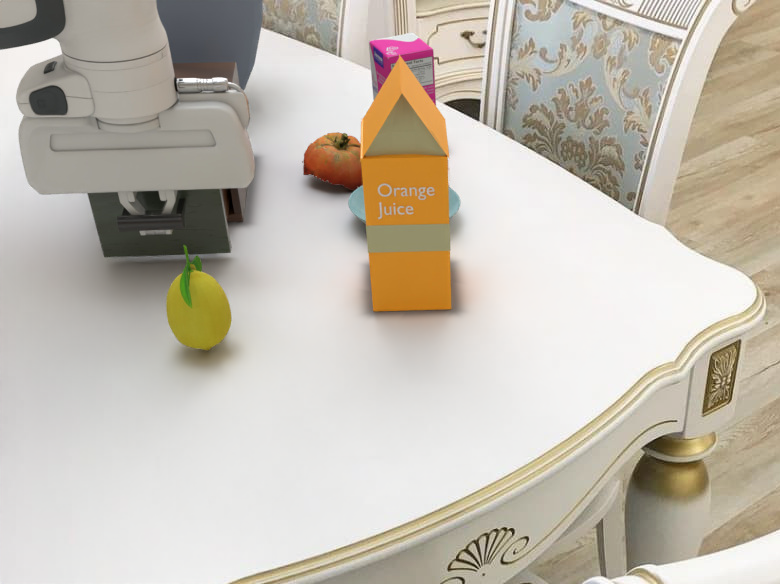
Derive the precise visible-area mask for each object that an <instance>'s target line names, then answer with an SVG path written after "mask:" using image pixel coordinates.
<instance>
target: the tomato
mask: <svg viewBox="0 0 780 584" xmlns="http://www.w3.org/2000/svg"><path fill="white" fill-rule="evenodd" d="M360 146H361V141H359V140H358V138H357V137H355V136H353V135H348V133H347V132H343V133H342V132H338V131H337V132H328V133H326V134H323V135H322V136H320V137H317V138H316V139H315V140H314V141H312V142H311V143H309V144H308V146H307V148H306V150H305V151H304V152H303V160H302V161H301V162H302V163H303V168H302V169H303V176H309V175H310V176H313V177H314V178H316V179H317V180H319V179H320V181H321V182H323V183H326V182H327V183H328V184H331V185H332V186H335V185H336V186H343V187H344V188H346V189H348V190H350V191H355V190H356V189H357V188H359V187H360V186H362V185H363V183H362V182H363V180H362V167H361V162H360Z"/></svg>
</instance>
